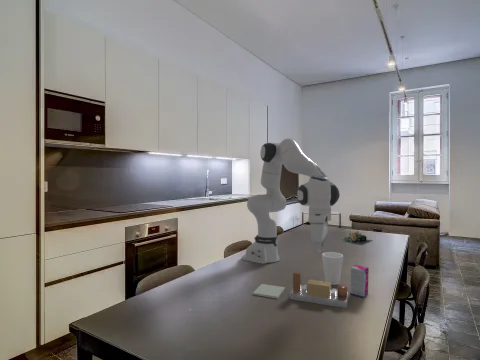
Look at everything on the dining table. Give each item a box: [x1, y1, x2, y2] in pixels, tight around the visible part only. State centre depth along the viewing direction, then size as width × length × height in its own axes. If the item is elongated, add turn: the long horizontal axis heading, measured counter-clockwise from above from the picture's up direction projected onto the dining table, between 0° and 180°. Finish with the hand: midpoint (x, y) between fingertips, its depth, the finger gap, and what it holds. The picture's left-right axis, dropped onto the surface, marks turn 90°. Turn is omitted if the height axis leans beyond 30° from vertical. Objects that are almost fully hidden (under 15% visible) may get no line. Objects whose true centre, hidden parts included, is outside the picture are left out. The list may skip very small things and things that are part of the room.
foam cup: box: [321, 251, 344, 286], centre depth 140 cm, size 10×9×13 cm
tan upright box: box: [306, 278, 332, 297], centre depth 122 cm, size 9×5×4 cm, turn 66°
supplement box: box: [349, 264, 370, 298], centre depth 126 cm, size 6×6×12 cm
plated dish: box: [342, 228, 374, 246], centre depth 229 cm, size 35×28×7 cm
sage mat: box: [252, 283, 286, 300], centre depth 129 cm, size 11×11×1 cm
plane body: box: [289, 271, 349, 309], centre depth 122 cm, size 22×10×10 cm, turn 66°
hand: (320, 249), depth 122 cm, fingers open, 8 cm apart
